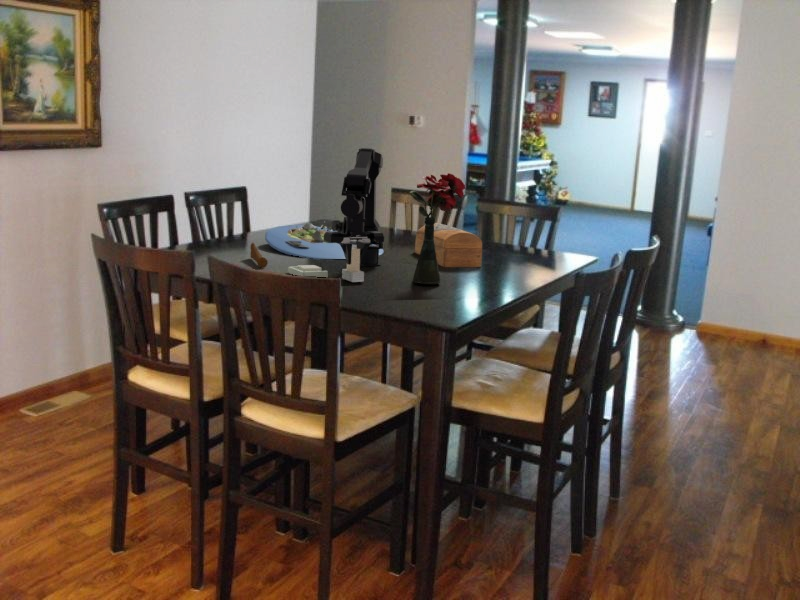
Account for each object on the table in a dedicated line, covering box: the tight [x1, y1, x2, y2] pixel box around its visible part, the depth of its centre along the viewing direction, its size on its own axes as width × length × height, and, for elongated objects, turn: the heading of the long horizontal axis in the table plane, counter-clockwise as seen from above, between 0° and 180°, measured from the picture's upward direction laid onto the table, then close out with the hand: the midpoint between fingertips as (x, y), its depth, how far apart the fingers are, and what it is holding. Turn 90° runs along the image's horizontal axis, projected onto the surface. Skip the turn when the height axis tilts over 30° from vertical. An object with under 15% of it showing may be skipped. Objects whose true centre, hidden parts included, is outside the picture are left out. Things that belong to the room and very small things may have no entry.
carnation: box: [408, 173, 466, 286], centre depth 262 cm, size 16×18×35 cm
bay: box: [287, 265, 329, 278], centre depth 264 cm, size 9×11×2 cm
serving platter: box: [264, 220, 385, 260], centre depth 314 cm, size 45×43×12 cm
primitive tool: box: [250, 242, 269, 269], centre depth 279 cm, size 19×6×4 cm
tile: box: [297, 264, 323, 272], centre depth 264 cm, size 6×6×3 cm
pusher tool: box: [341, 247, 365, 283], centre depth 256 cm, size 4×7×10 cm, turn 31°
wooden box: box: [414, 222, 483, 268], centre depth 307 cm, size 30×16×14 cm, turn 19°
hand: (353, 264), depth 256 cm, fingers closed on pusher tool, 3 cm apart
